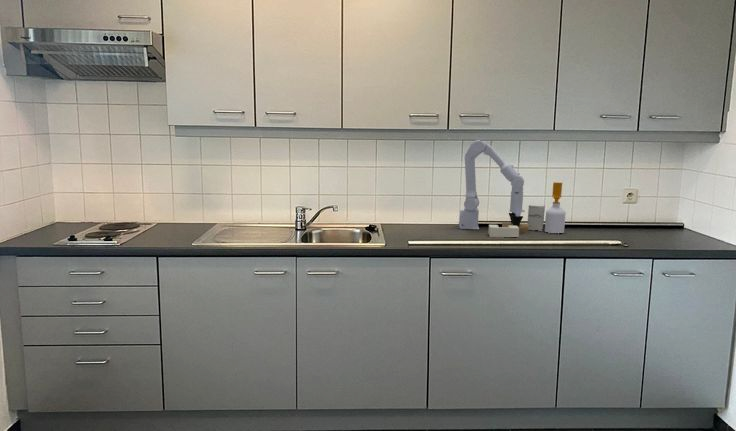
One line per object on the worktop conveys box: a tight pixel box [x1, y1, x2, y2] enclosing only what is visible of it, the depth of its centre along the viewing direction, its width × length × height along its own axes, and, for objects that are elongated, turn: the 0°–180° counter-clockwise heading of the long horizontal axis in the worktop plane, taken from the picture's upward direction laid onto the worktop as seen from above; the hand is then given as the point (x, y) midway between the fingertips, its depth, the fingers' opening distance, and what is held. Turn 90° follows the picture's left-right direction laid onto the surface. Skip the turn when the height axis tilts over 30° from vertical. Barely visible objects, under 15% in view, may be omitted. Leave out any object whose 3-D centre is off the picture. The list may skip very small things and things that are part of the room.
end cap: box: [487, 224, 520, 238], centre depth 257 cm, size 13×7×4 cm, turn 83°
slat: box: [501, 222, 529, 233], centre depth 268 cm, size 4×12×4 cm, turn 83°
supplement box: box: [526, 203, 546, 232], centre depth 274 cm, size 7×7×13 cm
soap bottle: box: [544, 181, 566, 235], centre depth 266 cm, size 9×9×25 cm
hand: (514, 228), depth 268 cm, fingers open, 6 cm apart
